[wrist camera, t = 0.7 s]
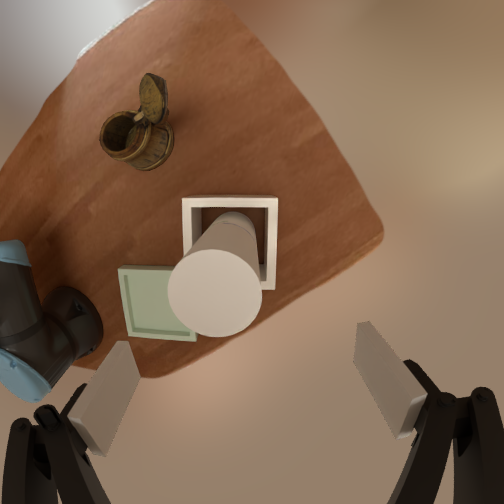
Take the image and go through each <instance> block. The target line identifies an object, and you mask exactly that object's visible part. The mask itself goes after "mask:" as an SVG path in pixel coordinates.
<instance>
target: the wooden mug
mask: <svg viewBox="0 0 504 504" xmlns="http://www.w3.org/2000/svg"><path fill="white" fill-rule="evenodd" d="M139 95H140V102H141V106H140V108H139V110H138V111H135V110H127V111H122V112H117V113H115V114H113V115H112V116H111V117H109V118H108V119H107V120H106V121H105V122H104V124H103V126H102V128H101V132H100V139H99V141H100V144H101V146H102V148H103V150H104V151H105V152H106V153H107V154H108V155H109V156H111V157H112V158H113V159H115V160H118V161H124V162H126V163H128V164H129V165H131V166H132V167H134V168H136V169H138V170H142V171H150V170H152V169H155V168H157V167H158V166H160V165H161V164H162V163H163V162H165V161H166V159H167V158H168V157H169V155H170V154H171V151H172V149H173V145H174V136H173V131H172V127H171V126H170V124H169V123H167V122H166V121H167V118H168V115H169V110H168V108H167V105H168V92H167V85H166V80H164V79H163V78H161V77H159V76H157V75H154V74H151V73H146V74H145V75H144V77H143V78H142V80H141V83H140V90H139Z"/></svg>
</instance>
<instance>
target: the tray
mask: <svg viewBox="0 0 504 504" xmlns="http://www.w3.org/2000/svg"><path fill="white" fill-rule="evenodd" d="M175 267H176V266H152V265H122V266H121V267H120V268H118V276H119V283H120V290H121V297H122V303H123V309H124V315H125V320H126V326H127V331H128V336H134V337H144V338H154V339H166V340H179V341H196V340H197V337H198V333H196V332H194V331H192V330H191V329H189V328H188V327H186V326H185V325H184V324H183V323H182V322H181V321H180V320H179V319H178V318H177V317H176V315H175V314H174V312H173V310H172V308H171V306H170V304H169V299H168V282H169V278H170V276H171V273H172V271H173V270H174V268H175Z"/></svg>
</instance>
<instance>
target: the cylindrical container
mask: <svg viewBox="0 0 504 504" xmlns="http://www.w3.org/2000/svg"><path fill="white" fill-rule="evenodd" d="M168 299H169V304H170V306H171V308H172V310H173V312H174V314H175V315H176V317H177V318H178V319H179V320H180V321H181V322H182V323H183V324H184V325H185V326H186V327H188V328H189V329H191V330H192V331H194V332H196V333H199V334H201V335H205V336H210V337H225V336H229V335H233V334H236V333H238V332H240V331H242V330H243V329H245V328H246V327H247V326H249V325H250V324H251V322H252V321H253V320H254V319H255V317H256V316H257V314H258V312H259V309H260V306H261V301H262V290H261V280H260V271H259V261H258V252H257V243H256V233H255V228H254V225H253V223H252V221H251V220H250V219H249V218H248V217H247V216H246V215H244V214H242V213H239V212H233V211H232V212H226V213H224V214H222V215H220V216H219V217H218V218H217V219H216V220H215V221H214V222H213V223H212V224H211V225H210V227H209V228H208V229H207V230H206V231H205V232H204V233H203V235H202V236H201V237H200V238H199V239H198V240H197V242H196V243H195V244H194V245H193V246H192V247H191V249H190V250H189V251H188V252H187V253H186V254H185V256H184V257H183V258H182V259H181V260H180V262H179V263H178V264H177V265H176V267H175V268H174V270H173V271H172V273H171V276H170V278H169V282H168Z"/></svg>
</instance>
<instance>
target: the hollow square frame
mask: <svg viewBox="0 0 504 504" xmlns="http://www.w3.org/2000/svg"><path fill="white" fill-rule="evenodd" d="M201 207H265V234H264V264H259V271H260V280H261V290H275V277H276V251H277V219H278V198H277V197H275V196H273V195H192V196H188V197H185V198H182V220H183V248H184V256H185V254H186V253H187V252H188V251H189V250H190V249H191V247H192V246H193V245H194V244H195V243H196V242H197V240H198V239H199V238H200V237H201V236H202V214H201Z"/></svg>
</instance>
